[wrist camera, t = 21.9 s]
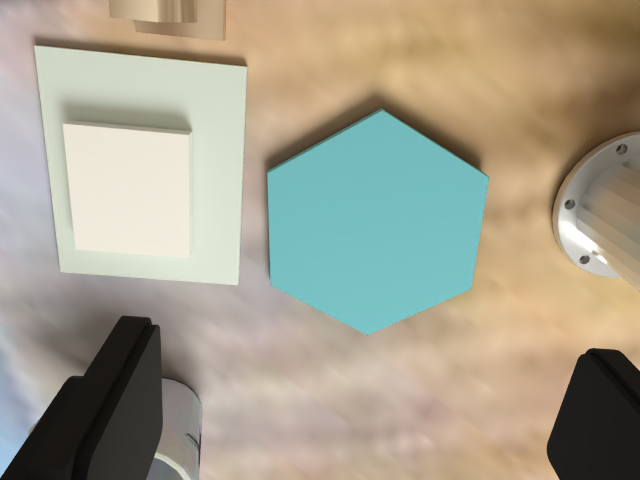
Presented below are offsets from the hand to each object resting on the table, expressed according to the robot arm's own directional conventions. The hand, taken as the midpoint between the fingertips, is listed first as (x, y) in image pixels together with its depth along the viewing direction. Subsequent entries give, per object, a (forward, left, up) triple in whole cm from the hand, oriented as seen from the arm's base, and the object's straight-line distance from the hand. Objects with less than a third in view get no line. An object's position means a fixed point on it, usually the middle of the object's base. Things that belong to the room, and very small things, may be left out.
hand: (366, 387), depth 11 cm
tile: (+10, +6, -29) cm, 31 cm away
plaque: (-5, +8, -31) cm, 32 cm away
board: (+14, +5, -30) cm, 34 cm away
